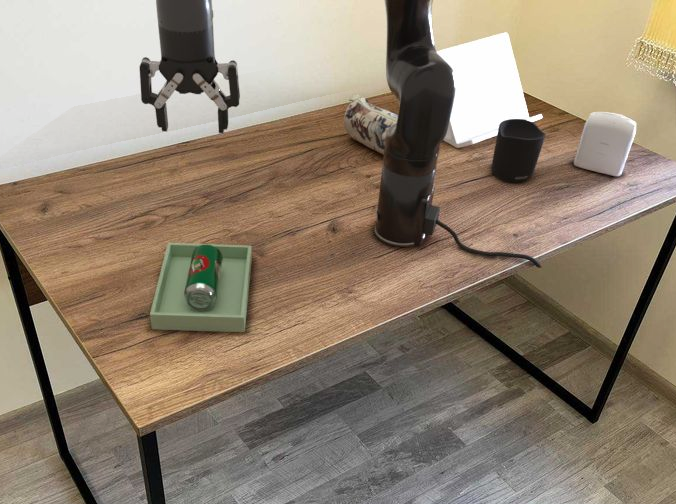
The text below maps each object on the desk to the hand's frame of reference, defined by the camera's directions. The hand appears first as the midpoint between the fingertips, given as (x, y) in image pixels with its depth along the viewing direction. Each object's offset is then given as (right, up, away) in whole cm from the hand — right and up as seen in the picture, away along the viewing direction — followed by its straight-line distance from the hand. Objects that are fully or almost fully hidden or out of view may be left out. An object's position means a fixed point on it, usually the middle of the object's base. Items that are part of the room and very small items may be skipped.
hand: (193, 130), depth 113 cm
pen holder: (+60, +4, +44) cm, 74 cm away
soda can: (+1, -18, +11) cm, 21 cm away
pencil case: (+33, +9, +48) cm, 59 cm away
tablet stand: (+56, +19, +60) cm, 84 cm away
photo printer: (+79, +5, +47) cm, 92 cm away
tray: (0, -24, +8) cm, 25 cm away
